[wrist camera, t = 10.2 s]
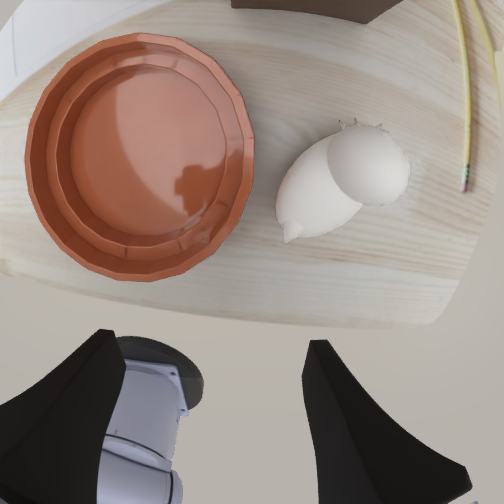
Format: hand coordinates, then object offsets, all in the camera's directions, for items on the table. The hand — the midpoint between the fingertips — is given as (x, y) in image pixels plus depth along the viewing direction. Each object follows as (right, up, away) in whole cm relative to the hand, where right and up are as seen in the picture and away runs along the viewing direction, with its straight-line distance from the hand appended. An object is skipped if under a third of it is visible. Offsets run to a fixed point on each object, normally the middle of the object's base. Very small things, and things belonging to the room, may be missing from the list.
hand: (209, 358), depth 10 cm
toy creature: (+6, +9, +7) cm, 12 cm away
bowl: (-5, +10, +6) cm, 12 cm away
